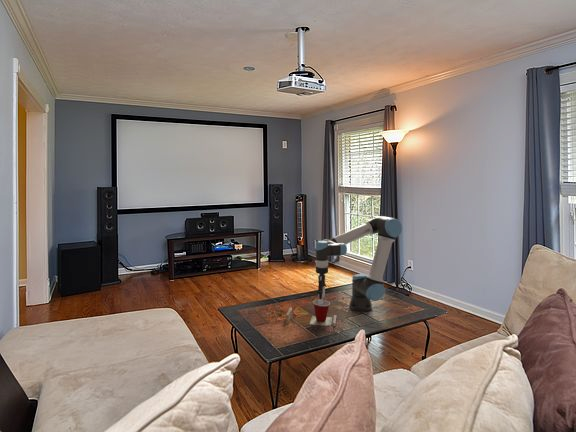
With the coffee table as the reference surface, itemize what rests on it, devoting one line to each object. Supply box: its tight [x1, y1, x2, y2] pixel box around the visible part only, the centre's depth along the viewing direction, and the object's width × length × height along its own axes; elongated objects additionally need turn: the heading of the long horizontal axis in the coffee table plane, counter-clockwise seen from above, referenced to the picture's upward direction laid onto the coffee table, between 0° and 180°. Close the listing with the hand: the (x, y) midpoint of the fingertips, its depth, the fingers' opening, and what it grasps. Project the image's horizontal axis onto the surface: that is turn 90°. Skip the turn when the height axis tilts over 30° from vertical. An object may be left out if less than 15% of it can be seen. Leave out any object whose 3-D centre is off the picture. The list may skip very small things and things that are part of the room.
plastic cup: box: [312, 299, 331, 322], centre depth 235 cm, size 11×11×12 cm
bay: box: [285, 307, 337, 327], centre depth 236 cm, size 30×13×5 cm, turn 80°
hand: (321, 300), depth 234 cm, fingers open, 13 cm apart
